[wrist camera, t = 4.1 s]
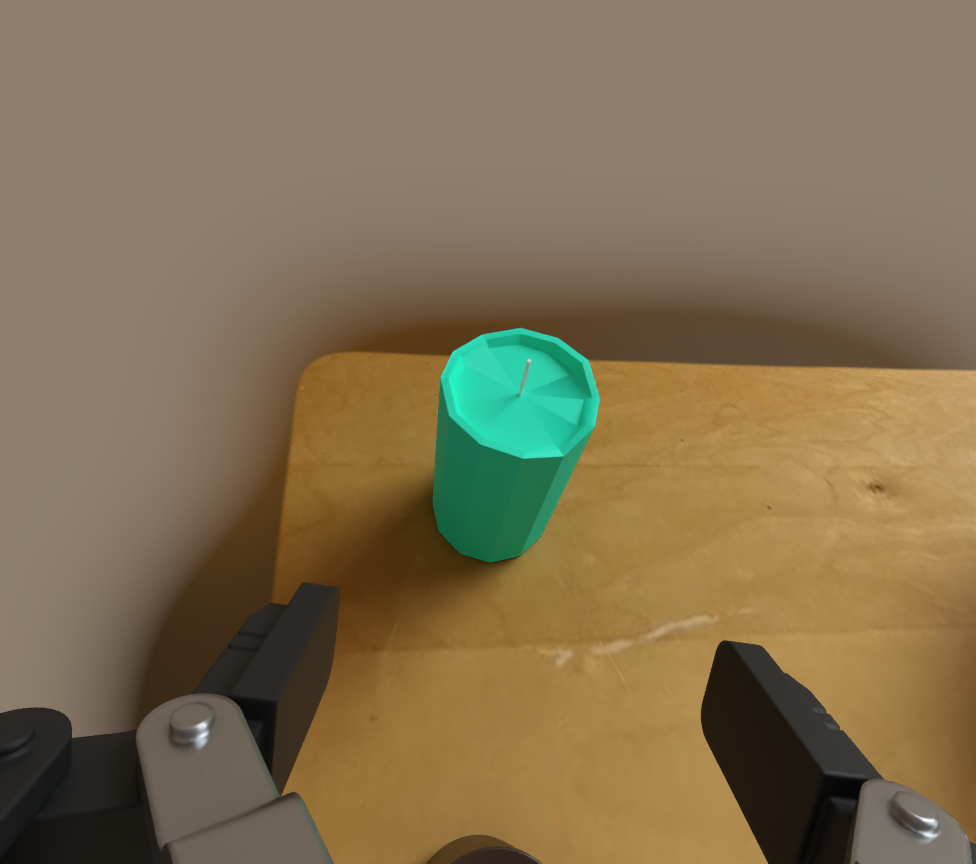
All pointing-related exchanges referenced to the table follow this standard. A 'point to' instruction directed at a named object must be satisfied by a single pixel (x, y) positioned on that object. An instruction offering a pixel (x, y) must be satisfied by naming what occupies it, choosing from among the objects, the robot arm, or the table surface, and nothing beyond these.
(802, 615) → the table surface
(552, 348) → the candle
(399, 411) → the table surface
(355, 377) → the table surface
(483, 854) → the walnut post
